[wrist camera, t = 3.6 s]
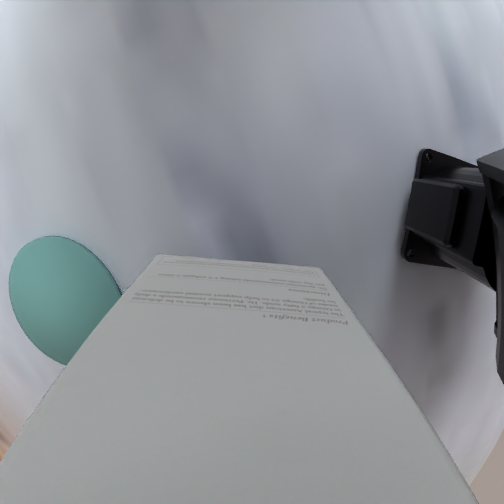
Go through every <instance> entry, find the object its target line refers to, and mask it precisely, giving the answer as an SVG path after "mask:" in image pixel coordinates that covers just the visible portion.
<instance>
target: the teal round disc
mask: <svg viewBox="0 0 504 504" xmlns="http://www.w3.org/2000/svg"><path fill="white" fill-rule="evenodd" d="M9 294H10V300H11V304H12V307H13V311H14V313H15V316H16V318H17V320H18V322H19V324H20V326H21V328H22V329H23V331H24V332H25V334H26V335H27V336H28V338H29V339H30V340H31V341H32V342H33V344H34V345H35V346H36V347H37V348H38V349H40V350H41V351H42V352H43V353H44V354H46V355H47V356H48V357H50V358H52V359H53V360H55V361H57V362H59V363H61V364H64V365H67V364H68V363H69V362H70V360H71V359H72V358H73V356H74V355H75V354H76V352H77V351H78V350H79V348H80V347H81V346H82V344H83V343H84V342H85V340H86V339H87V338H88V337H89V335H90V334H91V333H92V332H93V330H94V329H95V328H96V327H97V325H98V324H99V323H100V322H101V320H102V319H103V318H104V317H105V315H106V314H107V313H108V312H109V310H110V309H111V308H112V307H113V306H114V304H115V303H116V302H117V301H118V300H119V299H120V297H121V294H120V291H119V289H118V287H117V284H116V282H115V280H114V279H113V277H112V275H111V274H110V272H109V271H108V269H107V268H106V267H105V265H104V264H103V263H102V262H101V261H100V260H99V259H98V258H97V257H96V256H95V255H94V254H93V253H92V252H91V251H90V250H88V249H87V248H85V247H84V246H83V245H81V244H79V243H77V242H75V241H73V240H70V239H68V238H64V237H59V236H47V237H42V238H39V239H36V240H34V241H32V242H30V243H28V244H27V245H25V246H24V247H23V248H22V249H21V250H20V251H19V253H18V254H17V256H16V257H15V259H14V261H13V264H12V266H11V270H10V276H9Z"/></svg>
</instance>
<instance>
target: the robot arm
mask: <svg viewBox="0 0 504 504" xmlns="http://www.w3.org/2000/svg"><path fill="white" fill-rule="evenodd" d="M426 154H428V156H429V160H428V161H426V158H425V156H426ZM477 164H478V166H475V165H473V164H470V163H468V162H465V161H462V160H460V159H457V158H454V157H452V156H449V155H446V154H443V153H440V152H437V151H435V150H432V149H422V150H421V151H420V152H419V155H418V162H417V169H416V176H415V180H414V181H413V183H412V189H411V195H410V201H409V206H408V212H407V217H406V222H405V225H406V230H405V235H404V240H403V244H402V248H401V256H402V258H403V259H405V260H406V261H408V262H414V263H421V264H428V265H435V266H442V267H449V268H456V269H459V270H461V271H462V272H464V273H466V274H467V275H469V276H471V277H473V278H474V279H476V280H478V281H479V282H481V283H483V284H484V285H486V286H487V287H489V288H491V289H492V290H494V291H496V322H495V325H494V333H495V335H496V337H497V347H496V363H497V372H498V374H499V376H500V378H501V380H502V382H503V384H504V148H503V149H501V150H498V151H496V152H493V153H491V154H488V155H486V156H483V157H481V158H478V159H477ZM410 249H411V250H412V252H411V254H410V255H409V256H408V251H409V250H410Z"/></svg>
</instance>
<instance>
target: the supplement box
mask: <svg viewBox="0 0 504 504" xmlns="http://www.w3.org/2000/svg"><path fill="white" fill-rule="evenodd" d="M0 504H479V503H478V501H477V499H476V498H475V496H474V494H473V492H472V491H471V489H470V487H469V486H468V484H467V482H466V481H465V479H464V477H463V476H462V474H461V472H460V471H459V469H458V468H457V466H456V464H455V463H454V461H453V459H452V458H451V456H450V454H449V453H448V451H447V450H446V448H445V446H444V445H443V443H442V442H441V440H440V439H439V437H438V435H437V434H436V432H435V431H434V429H433V428H432V426H431V424H430V423H429V421H428V420H427V418H426V417H425V415H424V414H423V412H422V411H421V409H420V408H419V406H418V405H417V403H416V402H415V400H414V399H413V397H412V396H411V394H410V393H409V391H408V390H407V388H406V386H405V385H404V383H403V382H402V381H401V379H400V378H399V376H398V375H397V373H396V371H395V370H394V369H393V367H392V366H391V364H390V363H389V362H388V360H387V359H386V357H385V356H384V354H383V353H382V351H381V350H380V349H379V347H378V346H377V344H376V343H375V341H374V340H373V339H372V337H371V336H370V334H369V333H368V332H367V330H366V329H365V327H364V326H363V324H362V323H361V322H360V321H359V319H358V318H357V316H356V315H355V313H354V312H353V311H352V310H351V308H350V307H349V305H348V304H347V303H346V301H345V300H344V298H343V297H342V296H341V295H340V293H339V292H338V290H337V289H336V288H335V286H334V285H333V284H332V282H331V281H330V280H329V278H328V277H327V276H326V275H325V273H324V272H323V271H322V269H321V268H317V267H305V266H295V265H285V264H272V263H260V262H248V261H236V260H224V259H212V258H200V257H188V256H176V255H165V254H157V255H156V256H155V258H154V259H153V260H152V261H151V262H150V263H149V264H148V266H147V267H146V268H145V269H144V270H143V271H142V272H141V274H140V275H139V276H138V277H137V278H136V280H135V281H134V282H133V283H132V284H131V285H130V287H129V288H128V289H127V290H126V291H125V293H124V294H123V295H122V296H121V297H120V299H119V300H118V301H117V302H116V303H115V304H114V306H113V307H112V308H111V309H110V310H109V312H108V313H107V314H106V315H105V317H104V318H103V319H102V320H101V322H100V323H99V324H98V325H97V327H96V328H95V329H94V330H93V332H92V333H91V334H90V335H89V337H88V338H87V339H86V340H85V342H84V343H83V344H82V346H81V347H80V348H79V350H78V351H77V352H76V354H75V355H74V356H73V358H72V359H71V360H70V362H69V363H68V364H67V366H66V367H65V368H64V370H63V371H62V372H61V374H60V375H59V376H58V378H57V379H56V380H55V382H54V383H53V384H52V386H51V387H50V389H49V390H48V391H47V393H46V394H45V395H44V397H43V398H42V400H41V401H40V403H39V404H38V406H37V407H36V409H35V410H34V412H33V413H32V414H31V416H30V417H29V418H28V419H27V421H26V422H25V424H24V425H23V427H22V429H21V430H20V432H19V433H18V435H17V436H16V438H15V439H14V441H13V443H12V444H11V446H10V448H9V449H8V451H7V453H6V454H5V456H4V457H3V459H2V460H1V462H0Z"/></svg>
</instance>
